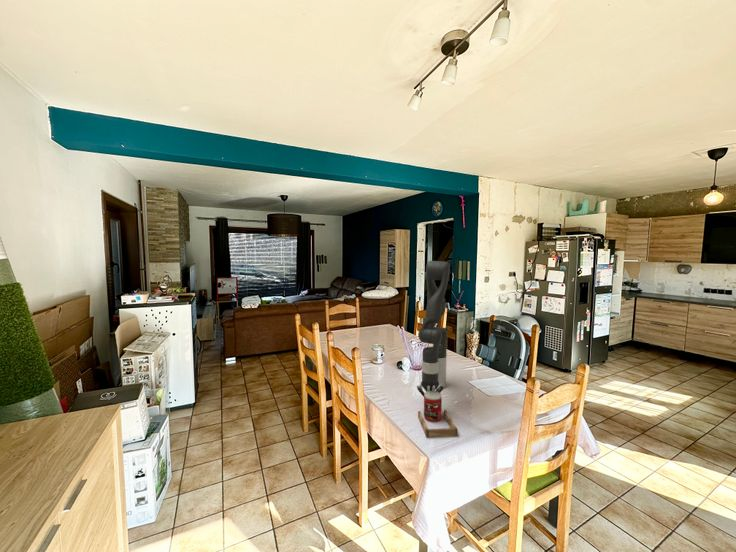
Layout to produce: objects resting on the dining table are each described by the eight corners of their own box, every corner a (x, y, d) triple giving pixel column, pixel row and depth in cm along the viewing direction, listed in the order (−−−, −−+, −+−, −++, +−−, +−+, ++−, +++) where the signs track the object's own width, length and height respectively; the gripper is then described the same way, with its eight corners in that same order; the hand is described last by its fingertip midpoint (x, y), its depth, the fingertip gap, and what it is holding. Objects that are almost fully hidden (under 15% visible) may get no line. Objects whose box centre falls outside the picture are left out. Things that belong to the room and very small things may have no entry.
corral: (418, 417, 140) (418, 411, 140) (445, 416, 141) (445, 410, 141) (426, 437, 125) (426, 430, 125) (457, 436, 126) (457, 429, 126)
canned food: (420, 418, 139) (421, 395, 138) (428, 411, 146) (429, 388, 145) (436, 424, 135) (436, 400, 134) (444, 416, 141) (444, 393, 140)
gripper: (441, 366, 147) (441, 400, 149) (414, 367, 146) (414, 401, 148) (446, 372, 140) (446, 408, 141) (418, 374, 139) (417, 410, 141)
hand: (429, 405), depth 145 cm, fingers closed
